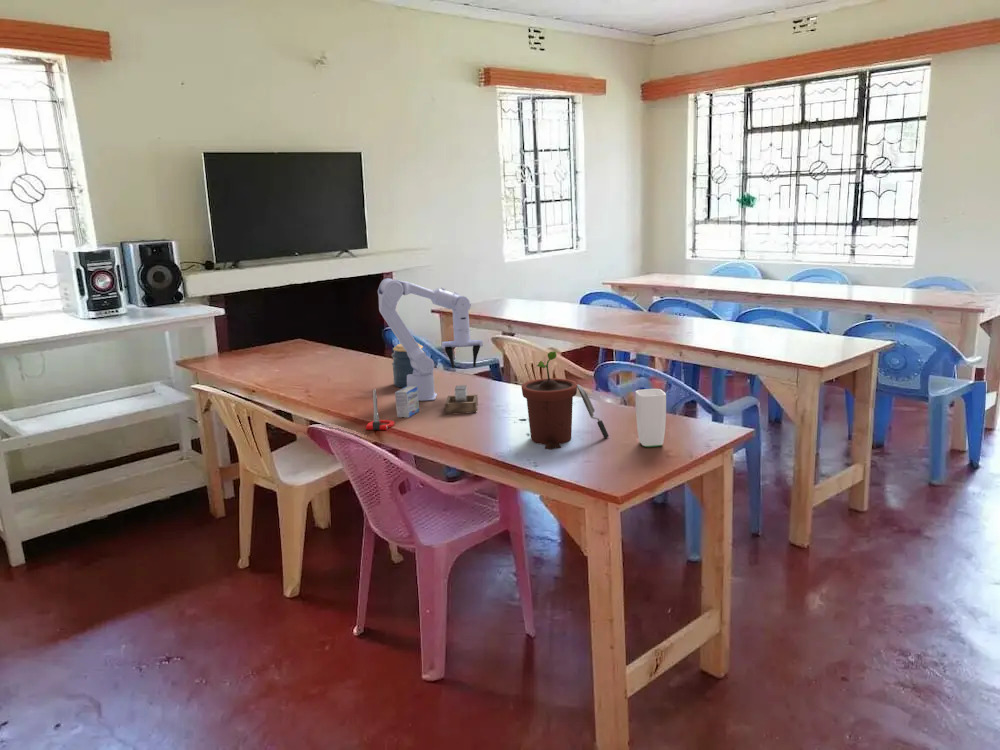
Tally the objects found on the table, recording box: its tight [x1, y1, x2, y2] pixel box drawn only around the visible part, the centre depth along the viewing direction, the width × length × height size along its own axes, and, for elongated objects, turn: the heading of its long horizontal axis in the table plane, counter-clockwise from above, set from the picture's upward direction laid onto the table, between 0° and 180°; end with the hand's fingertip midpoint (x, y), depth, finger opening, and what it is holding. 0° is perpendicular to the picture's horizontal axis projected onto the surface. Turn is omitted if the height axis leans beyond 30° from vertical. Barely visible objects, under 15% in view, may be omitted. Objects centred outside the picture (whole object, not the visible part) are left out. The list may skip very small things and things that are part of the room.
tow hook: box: [365, 388, 396, 431], centre depth 245 cm, size 8×13×9 cm
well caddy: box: [444, 394, 479, 415], centre depth 260 cm, size 10×10×4 cm
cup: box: [635, 388, 667, 448], centre depth 214 cm, size 7×7×15 cm
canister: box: [391, 342, 427, 389], centre depth 296 cm, size 13×13×18 cm
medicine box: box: [394, 386, 420, 419], centre depth 256 cm, size 8×4×9 cm, turn 160°
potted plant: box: [521, 350, 610, 450], centre depth 221 cm, size 18×22×25 cm
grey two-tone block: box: [454, 384, 468, 402], centre depth 259 cm, size 4×5×7 cm
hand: (463, 366), depth 280 cm, fingers open, 7 cm apart
